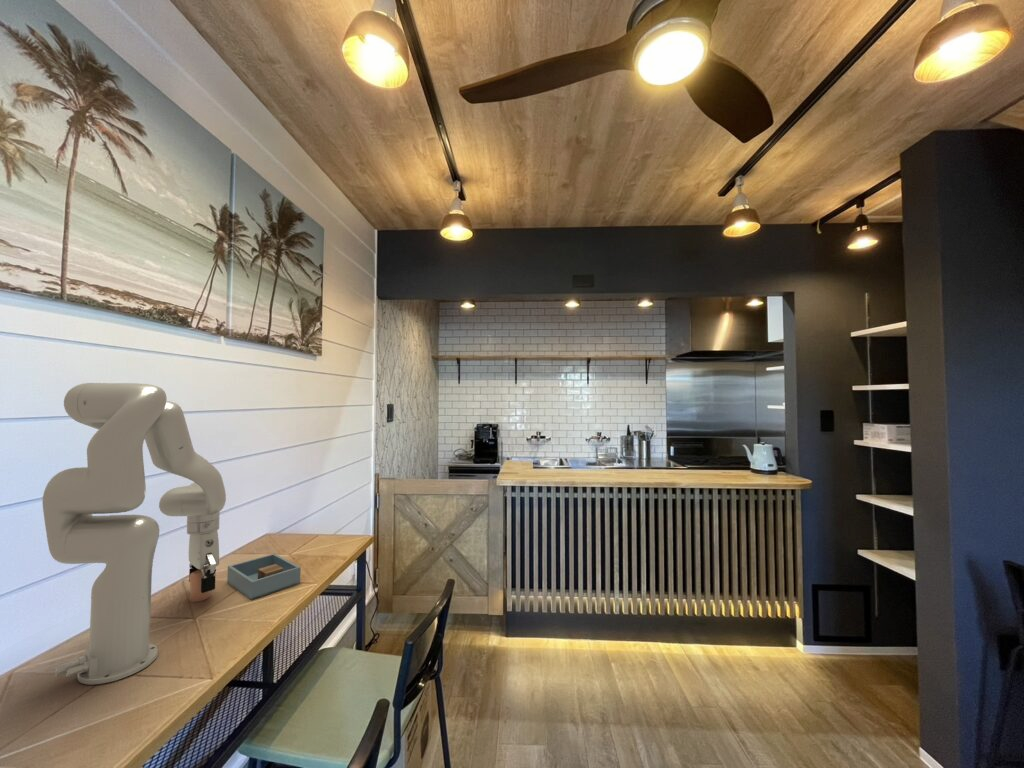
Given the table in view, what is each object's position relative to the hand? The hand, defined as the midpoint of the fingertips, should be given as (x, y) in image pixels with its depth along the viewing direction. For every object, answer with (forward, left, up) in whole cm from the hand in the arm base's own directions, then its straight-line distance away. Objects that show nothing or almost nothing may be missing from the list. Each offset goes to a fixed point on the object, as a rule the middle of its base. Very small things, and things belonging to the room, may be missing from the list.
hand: (201, 585), depth 121 cm
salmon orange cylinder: (0, 0, -3) cm, 3 cm away
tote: (+15, -4, -3) cm, 16 cm away
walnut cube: (+15, -9, -3) cm, 17 cm away
